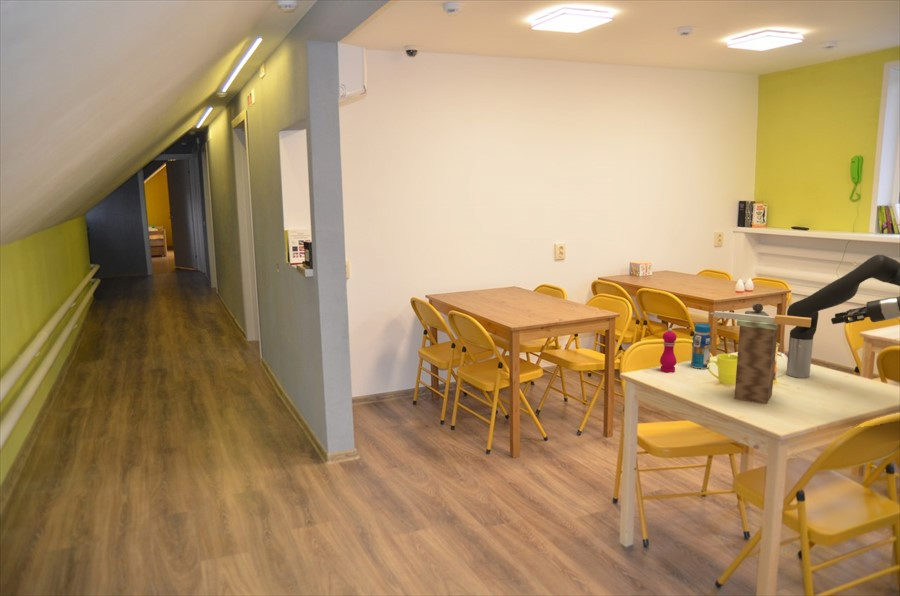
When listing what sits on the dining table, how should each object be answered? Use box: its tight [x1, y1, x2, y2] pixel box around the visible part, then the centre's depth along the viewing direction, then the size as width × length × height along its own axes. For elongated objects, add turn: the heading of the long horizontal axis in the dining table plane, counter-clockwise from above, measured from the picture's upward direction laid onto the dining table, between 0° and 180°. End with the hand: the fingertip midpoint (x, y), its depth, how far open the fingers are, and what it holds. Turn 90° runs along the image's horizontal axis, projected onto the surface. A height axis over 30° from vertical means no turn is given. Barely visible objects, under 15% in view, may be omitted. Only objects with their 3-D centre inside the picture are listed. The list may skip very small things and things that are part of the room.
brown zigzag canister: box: [733, 320, 781, 405], centre depth 262 cm, size 14×15×32 cm
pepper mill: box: [659, 327, 677, 373], centre depth 299 cm, size 7×7×20 cm
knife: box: [709, 310, 811, 327], centre depth 255 cm, size 36×3×3 cm, turn 57°
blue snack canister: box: [690, 323, 712, 370], centre depth 304 cm, size 8×8×20 cm
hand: (833, 319), depth 242 cm, fingers open, 8 cm apart
